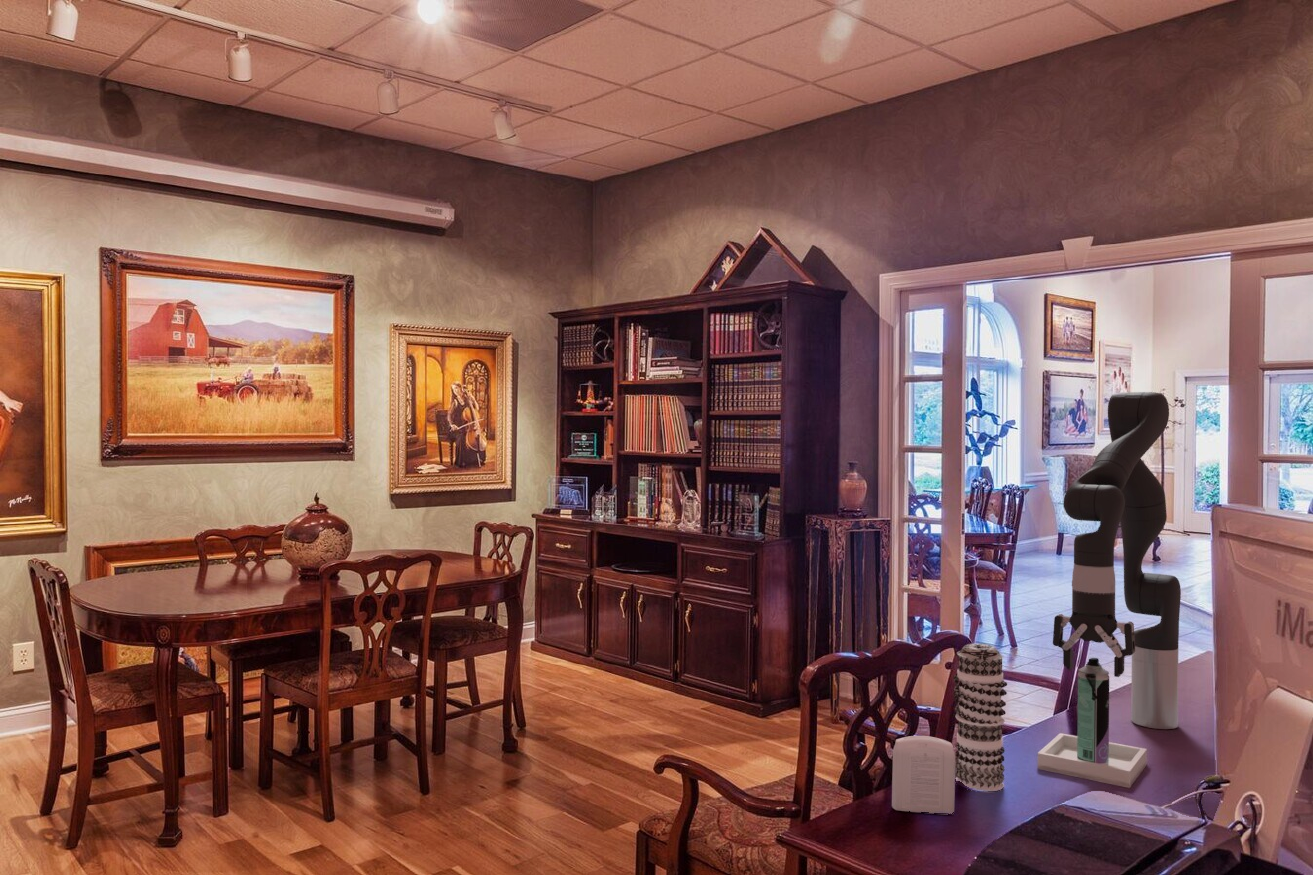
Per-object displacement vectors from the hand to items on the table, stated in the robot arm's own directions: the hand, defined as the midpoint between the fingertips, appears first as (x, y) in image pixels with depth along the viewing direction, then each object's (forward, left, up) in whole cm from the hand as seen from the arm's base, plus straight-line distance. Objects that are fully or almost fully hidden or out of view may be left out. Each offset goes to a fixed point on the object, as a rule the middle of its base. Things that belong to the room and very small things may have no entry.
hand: (1093, 672), depth 182 cm
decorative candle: (+23, -14, -18) cm, 33 cm away
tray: (0, 0, -18) cm, 18 cm away
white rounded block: (+41, -17, -18) cm, 48 cm away
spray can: (0, 0, -17) cm, 17 cm away
